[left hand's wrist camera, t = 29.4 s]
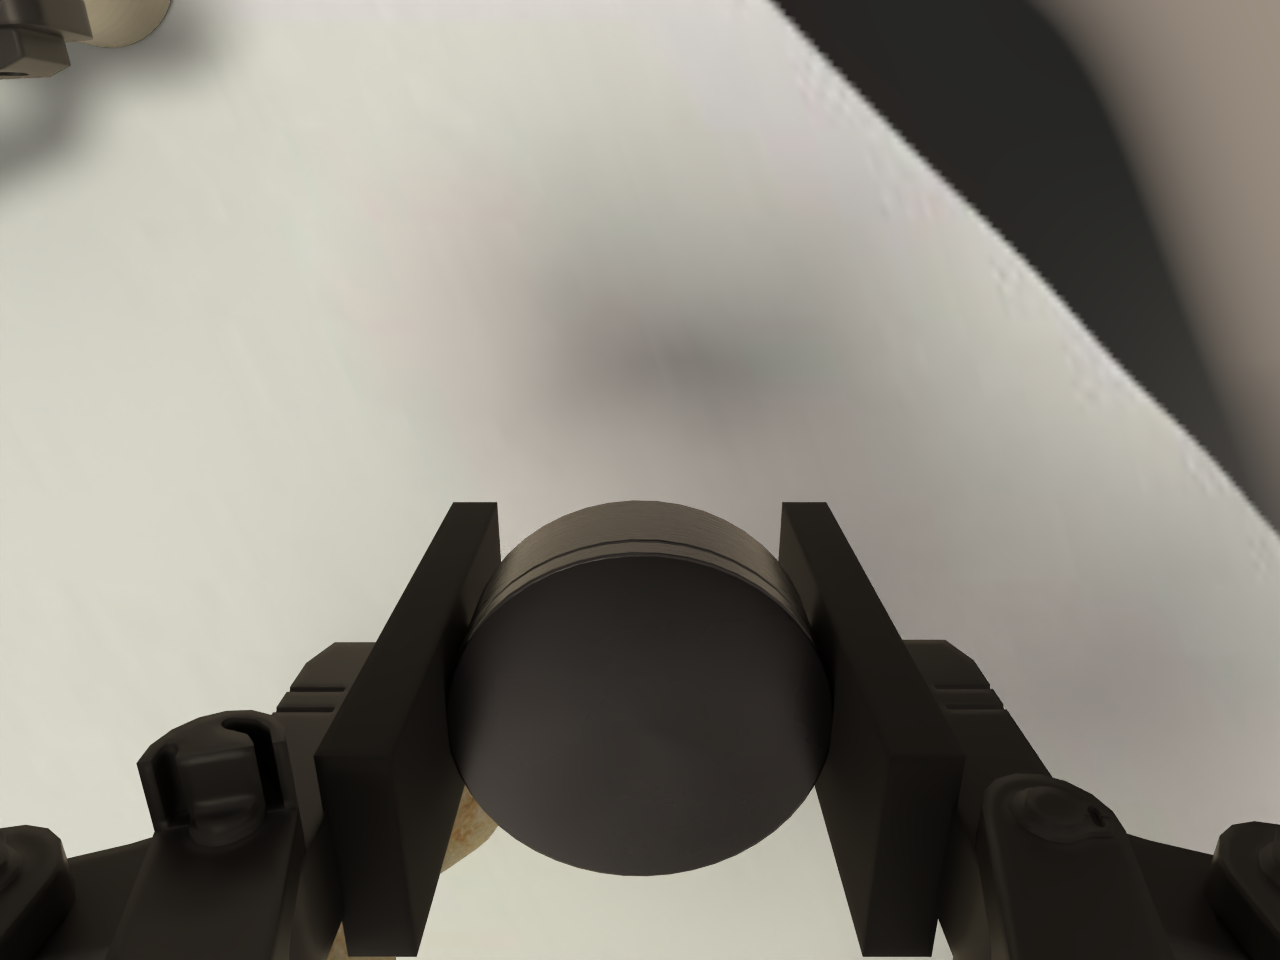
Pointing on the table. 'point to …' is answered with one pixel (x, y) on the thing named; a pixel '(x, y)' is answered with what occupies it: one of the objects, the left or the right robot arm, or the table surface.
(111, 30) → the cylinder
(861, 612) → the left robot arm
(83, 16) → the right robot arm
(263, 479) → the table surface
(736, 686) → the lid
